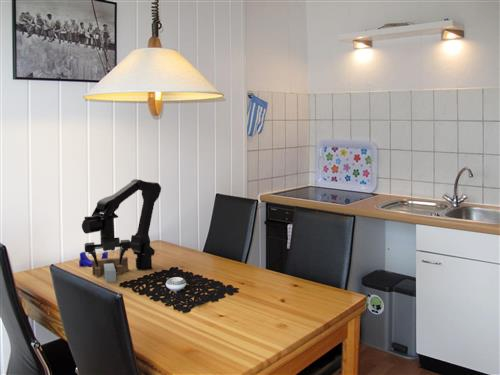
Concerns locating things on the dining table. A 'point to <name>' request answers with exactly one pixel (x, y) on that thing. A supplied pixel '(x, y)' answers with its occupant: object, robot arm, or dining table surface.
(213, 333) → the dining table surface
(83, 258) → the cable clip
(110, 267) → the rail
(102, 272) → the brown wooden bridge block
